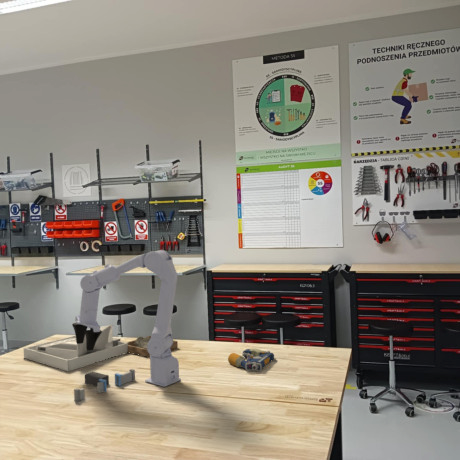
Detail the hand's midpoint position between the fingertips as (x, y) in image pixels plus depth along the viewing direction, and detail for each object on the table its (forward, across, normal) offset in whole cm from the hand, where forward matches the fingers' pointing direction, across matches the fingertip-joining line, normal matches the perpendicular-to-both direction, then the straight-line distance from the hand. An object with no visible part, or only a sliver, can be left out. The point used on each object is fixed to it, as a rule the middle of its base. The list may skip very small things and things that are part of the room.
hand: (84, 346), depth 157 cm
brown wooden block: (+9, -11, +36) cm, 39 cm away
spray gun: (+3, +33, +50) cm, 61 cm away
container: (+13, -26, +12) cm, 32 cm away
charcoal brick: (+10, +10, +1) cm, 14 cm away
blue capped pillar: (+9, +17, 0) cm, 19 cm away
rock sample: (+10, -10, +36) cm, 38 cm away
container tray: (+14, -27, +12) cm, 33 cm away
